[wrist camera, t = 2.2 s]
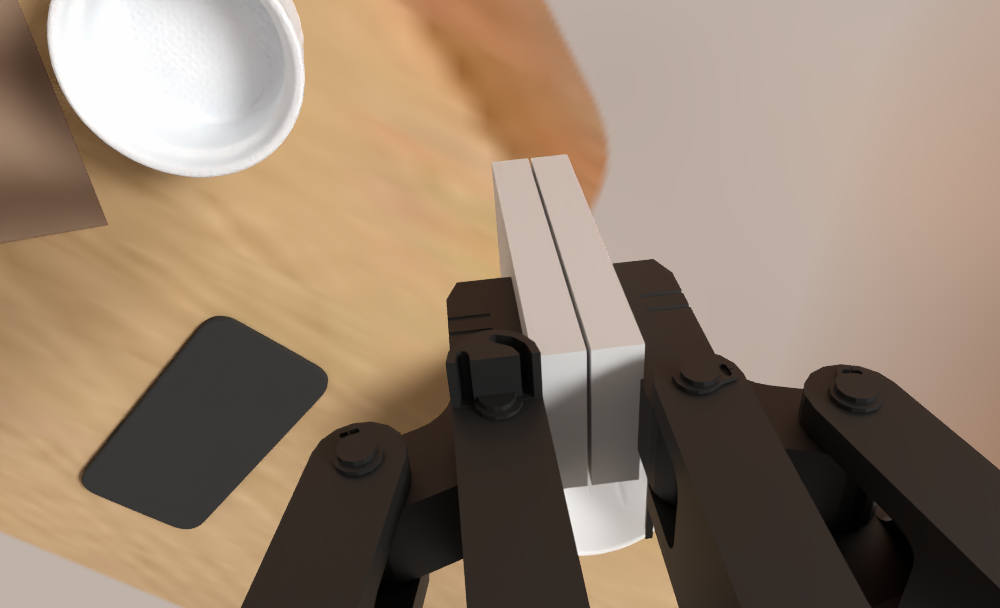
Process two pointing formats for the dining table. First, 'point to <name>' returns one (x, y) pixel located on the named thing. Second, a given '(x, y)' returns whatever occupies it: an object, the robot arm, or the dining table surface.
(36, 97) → the dock
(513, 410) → the robot arm
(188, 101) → the ramekin
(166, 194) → the dining table surface
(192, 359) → the phone
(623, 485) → the white cup
